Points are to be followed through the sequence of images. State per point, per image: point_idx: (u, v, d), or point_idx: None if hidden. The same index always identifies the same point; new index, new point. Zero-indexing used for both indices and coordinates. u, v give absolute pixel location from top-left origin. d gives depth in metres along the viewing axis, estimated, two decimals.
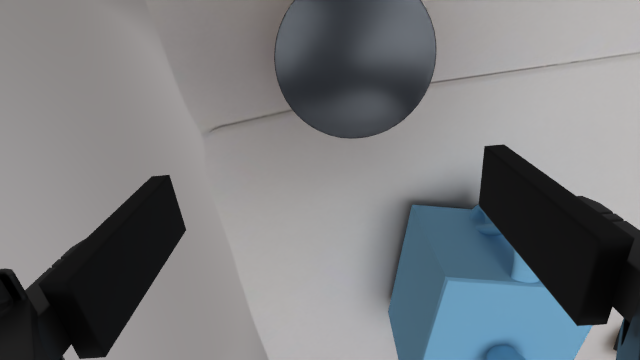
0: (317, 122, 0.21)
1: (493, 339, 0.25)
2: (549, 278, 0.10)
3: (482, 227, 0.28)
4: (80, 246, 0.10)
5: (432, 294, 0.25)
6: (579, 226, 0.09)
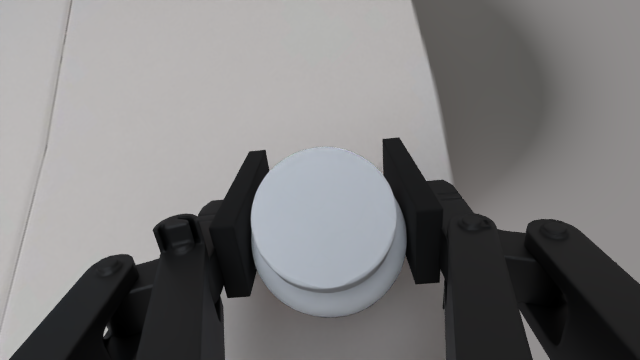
0: None
1: None
2: None
3: None
4: (224, 202, 0.12)
5: None
6: (411, 201, 0.11)
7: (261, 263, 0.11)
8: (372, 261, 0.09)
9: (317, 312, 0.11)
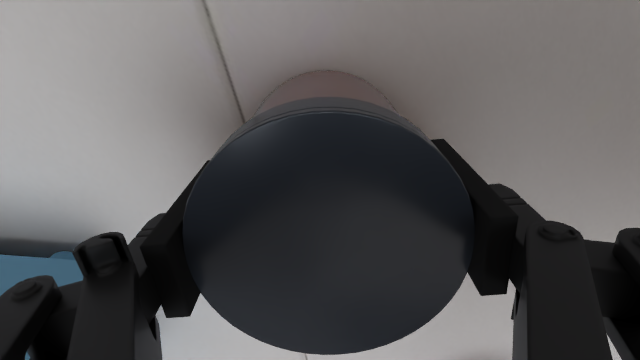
0: (206, 193, 0.10)
1: None
2: None
3: None
4: (165, 217, 0.11)
5: None
6: (478, 207, 0.10)
7: None
8: None
9: None
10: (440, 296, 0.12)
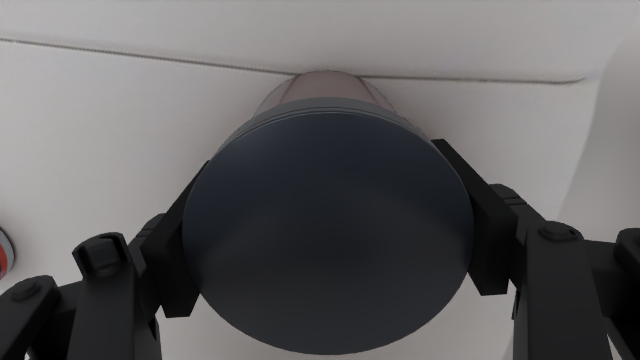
0: (206, 193, 0.10)
1: None
2: None
3: None
4: (164, 217, 0.11)
5: None
6: (478, 207, 0.10)
7: None
8: None
9: None
10: (439, 297, 0.12)
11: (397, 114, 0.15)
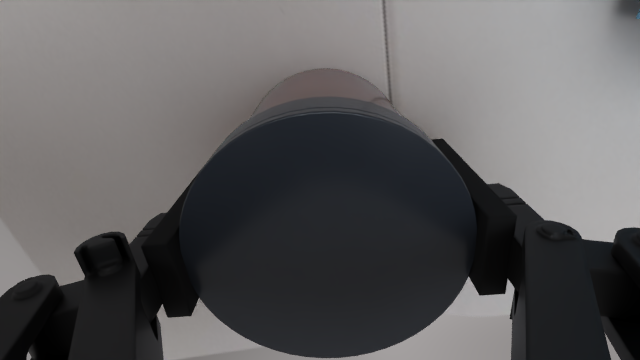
0: (203, 195, 0.10)
1: None
2: None
3: None
4: (166, 217, 0.11)
5: None
6: (477, 207, 0.10)
7: None
8: None
9: None
10: (441, 299, 0.12)
11: None
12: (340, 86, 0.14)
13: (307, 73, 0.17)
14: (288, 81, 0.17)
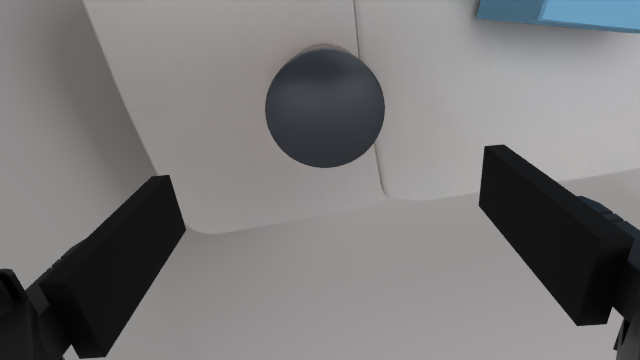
0: (277, 84, 0.26)
1: None
2: (549, 278, 0.10)
3: None
4: (80, 246, 0.10)
5: (566, 23, 0.23)
6: (579, 226, 0.09)
7: None
8: None
9: None
10: (372, 135, 0.27)
11: None
12: None
13: (315, 45, 0.33)
14: (306, 49, 0.33)
